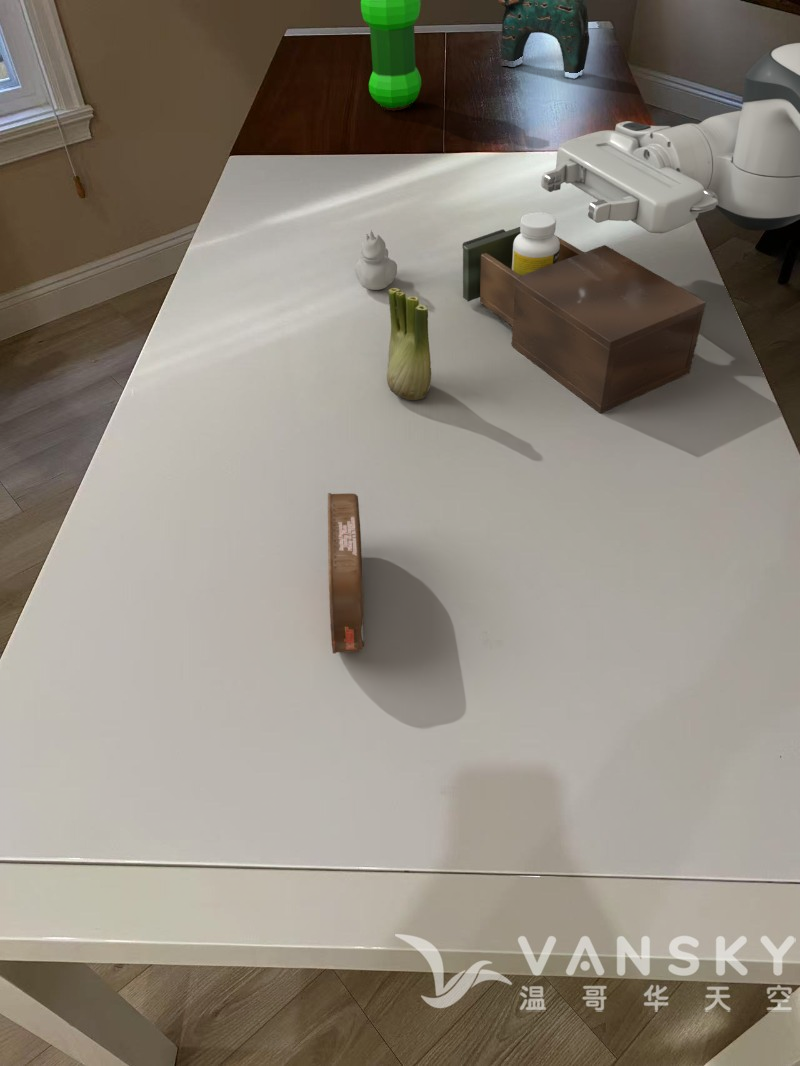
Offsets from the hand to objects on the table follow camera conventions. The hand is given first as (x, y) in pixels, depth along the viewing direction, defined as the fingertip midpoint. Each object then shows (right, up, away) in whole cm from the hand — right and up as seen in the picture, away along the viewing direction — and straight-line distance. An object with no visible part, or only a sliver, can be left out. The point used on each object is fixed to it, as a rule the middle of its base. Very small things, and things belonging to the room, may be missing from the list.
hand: (567, 197), depth 94 cm
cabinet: (+4, -18, +1) cm, 19 cm away
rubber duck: (-22, -5, +16) cm, 28 cm away
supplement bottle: (-3, -9, +7) cm, 12 cm away
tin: (-23, -44, -22) cm, 55 cm away
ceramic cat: (+9, +55, +72) cm, 91 cm away
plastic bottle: (-20, +42, +62) cm, 78 cm away
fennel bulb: (-18, -22, -1) cm, 29 cm away
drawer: (-4, -9, +9) cm, 13 cm away
